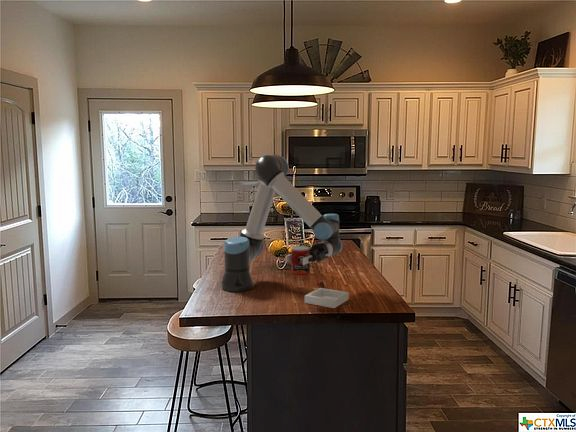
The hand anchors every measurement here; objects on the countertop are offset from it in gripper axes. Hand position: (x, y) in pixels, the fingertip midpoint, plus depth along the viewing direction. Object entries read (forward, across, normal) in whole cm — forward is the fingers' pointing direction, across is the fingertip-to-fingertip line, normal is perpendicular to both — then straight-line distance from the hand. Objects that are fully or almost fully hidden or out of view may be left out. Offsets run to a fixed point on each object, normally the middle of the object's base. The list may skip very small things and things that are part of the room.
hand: (294, 260), depth 192 cm
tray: (-13, -8, -19) cm, 25 cm away
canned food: (-5, 0, -7) cm, 8 cm away
